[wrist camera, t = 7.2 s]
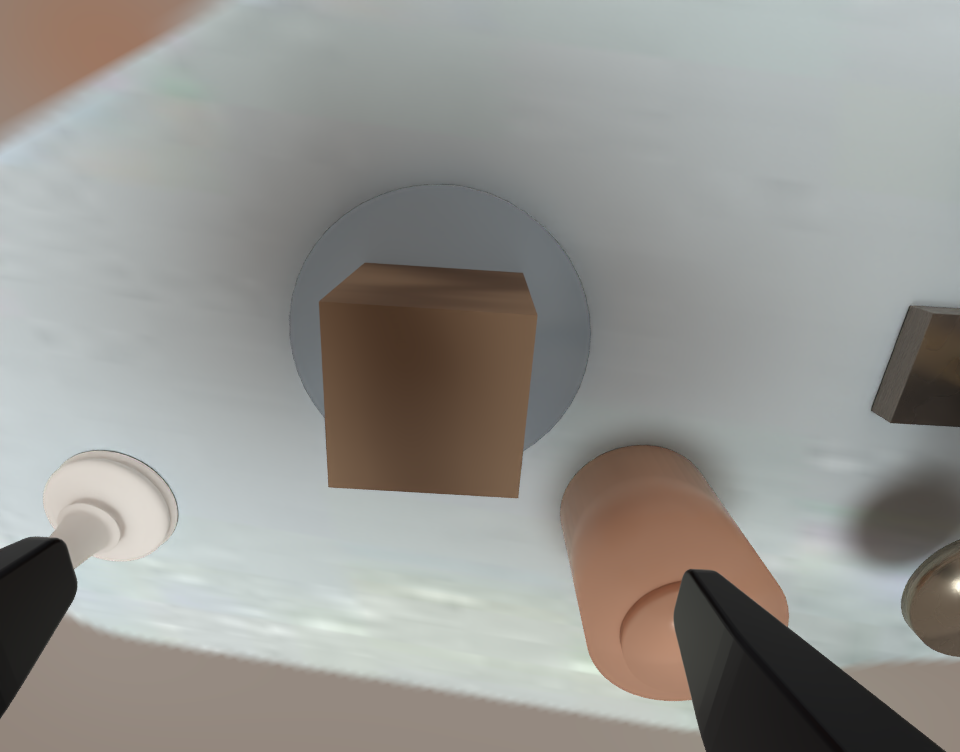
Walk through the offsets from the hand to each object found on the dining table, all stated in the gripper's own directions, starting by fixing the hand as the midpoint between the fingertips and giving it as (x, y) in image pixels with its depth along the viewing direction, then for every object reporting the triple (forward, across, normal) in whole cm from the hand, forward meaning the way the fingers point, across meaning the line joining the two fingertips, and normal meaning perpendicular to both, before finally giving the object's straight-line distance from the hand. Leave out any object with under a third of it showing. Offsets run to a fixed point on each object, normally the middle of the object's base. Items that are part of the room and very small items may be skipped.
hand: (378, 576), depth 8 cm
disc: (+12, 0, 0) cm, 12 cm away
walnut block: (+11, 0, 0) cm, 11 cm away
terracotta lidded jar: (+12, -8, +7) cm, 16 cm away
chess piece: (+12, +13, +8) cm, 19 cm away
